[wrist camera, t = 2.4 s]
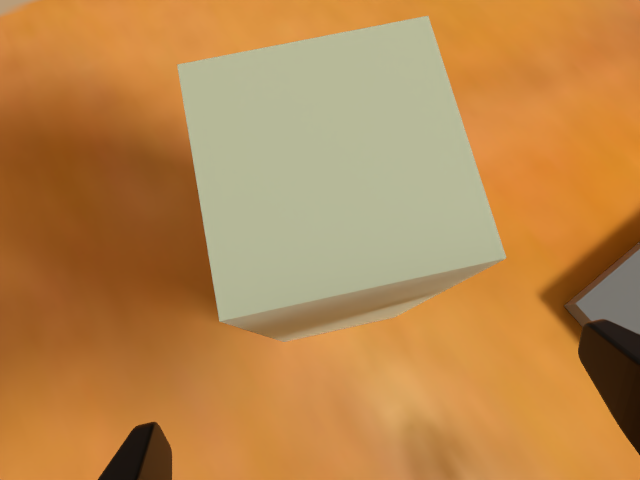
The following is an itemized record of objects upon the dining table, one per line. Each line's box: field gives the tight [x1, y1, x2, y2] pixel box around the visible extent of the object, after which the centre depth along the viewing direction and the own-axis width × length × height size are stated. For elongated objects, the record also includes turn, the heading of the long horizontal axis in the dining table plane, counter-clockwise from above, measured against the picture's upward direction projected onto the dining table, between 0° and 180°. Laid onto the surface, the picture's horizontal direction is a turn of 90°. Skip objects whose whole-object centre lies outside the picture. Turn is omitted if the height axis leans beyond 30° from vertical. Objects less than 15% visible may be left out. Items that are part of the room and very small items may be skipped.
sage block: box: [177, 16, 506, 342], centre depth 15 cm, size 5×5×13 cm
